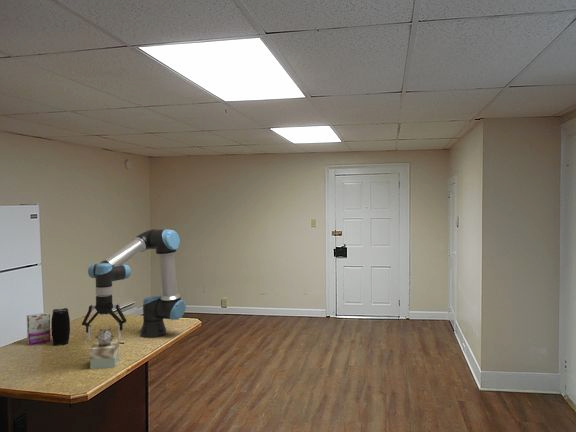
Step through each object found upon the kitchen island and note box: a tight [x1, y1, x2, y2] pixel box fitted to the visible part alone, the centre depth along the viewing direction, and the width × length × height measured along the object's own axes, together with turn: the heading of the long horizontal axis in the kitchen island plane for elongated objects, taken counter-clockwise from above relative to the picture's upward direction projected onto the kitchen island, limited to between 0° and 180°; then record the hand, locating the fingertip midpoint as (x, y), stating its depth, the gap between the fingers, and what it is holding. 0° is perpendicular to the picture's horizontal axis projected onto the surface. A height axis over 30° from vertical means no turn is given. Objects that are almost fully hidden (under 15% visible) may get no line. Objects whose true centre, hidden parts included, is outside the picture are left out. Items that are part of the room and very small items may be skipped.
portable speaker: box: [50, 307, 71, 346], centre depth 255 cm, size 9×9×20 cm
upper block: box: [89, 340, 120, 360], centre depth 221 cm, size 11×11×5 cm
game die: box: [94, 327, 114, 346], centre depth 220 cm, size 9×8×10 cm
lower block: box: [89, 352, 119, 370], centre depth 221 cm, size 11×11×5 cm
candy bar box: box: [26, 312, 51, 346], centre depth 257 cm, size 11×5×16 cm, turn 129°
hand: (104, 338), depth 220 cm, fingers open, 13 cm apart
